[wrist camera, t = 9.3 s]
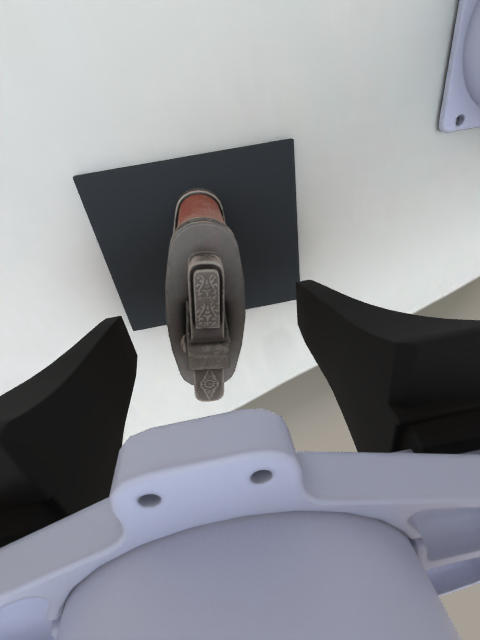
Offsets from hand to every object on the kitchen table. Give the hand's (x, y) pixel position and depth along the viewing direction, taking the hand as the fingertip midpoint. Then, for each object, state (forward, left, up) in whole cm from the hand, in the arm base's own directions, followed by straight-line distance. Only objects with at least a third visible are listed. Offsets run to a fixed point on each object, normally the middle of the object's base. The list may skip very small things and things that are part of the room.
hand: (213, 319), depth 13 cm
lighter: (0, 0, -8) cm, 8 cm away
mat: (0, 0, -9) cm, 9 cm away
